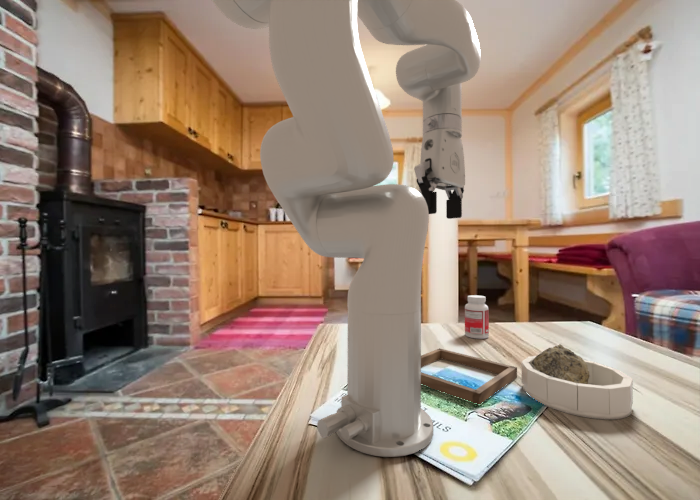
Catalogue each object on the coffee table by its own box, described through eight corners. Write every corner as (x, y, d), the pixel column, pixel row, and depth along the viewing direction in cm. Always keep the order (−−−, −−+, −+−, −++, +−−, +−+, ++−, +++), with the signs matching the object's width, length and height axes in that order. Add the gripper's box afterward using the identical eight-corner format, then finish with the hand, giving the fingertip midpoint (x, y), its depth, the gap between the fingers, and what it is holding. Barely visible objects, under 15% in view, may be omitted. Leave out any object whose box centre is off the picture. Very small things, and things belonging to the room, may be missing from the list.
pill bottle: (479, 333, 91) (479, 294, 91) (493, 338, 85) (493, 297, 85) (460, 334, 90) (460, 295, 90) (473, 339, 84) (473, 298, 84)
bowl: (626, 431, 41) (625, 397, 41) (510, 395, 51) (510, 368, 51) (636, 397, 50) (635, 370, 50) (537, 373, 60) (537, 350, 60)
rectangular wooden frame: (479, 405, 47) (479, 393, 47) (394, 375, 59) (394, 366, 59) (517, 377, 58) (517, 367, 58) (439, 356, 70) (439, 348, 70)
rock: (592, 390, 51) (608, 369, 50) (570, 399, 47) (587, 376, 46) (551, 360, 57) (563, 339, 56) (527, 365, 53) (541, 343, 51)
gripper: (435, 111, 55) (435, 210, 54) (479, 137, 67) (479, 218, 66) (400, 124, 60) (400, 214, 60) (446, 145, 72) (446, 220, 72)
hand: (441, 216), depth 63 cm, fingers open, 9 cm apart
